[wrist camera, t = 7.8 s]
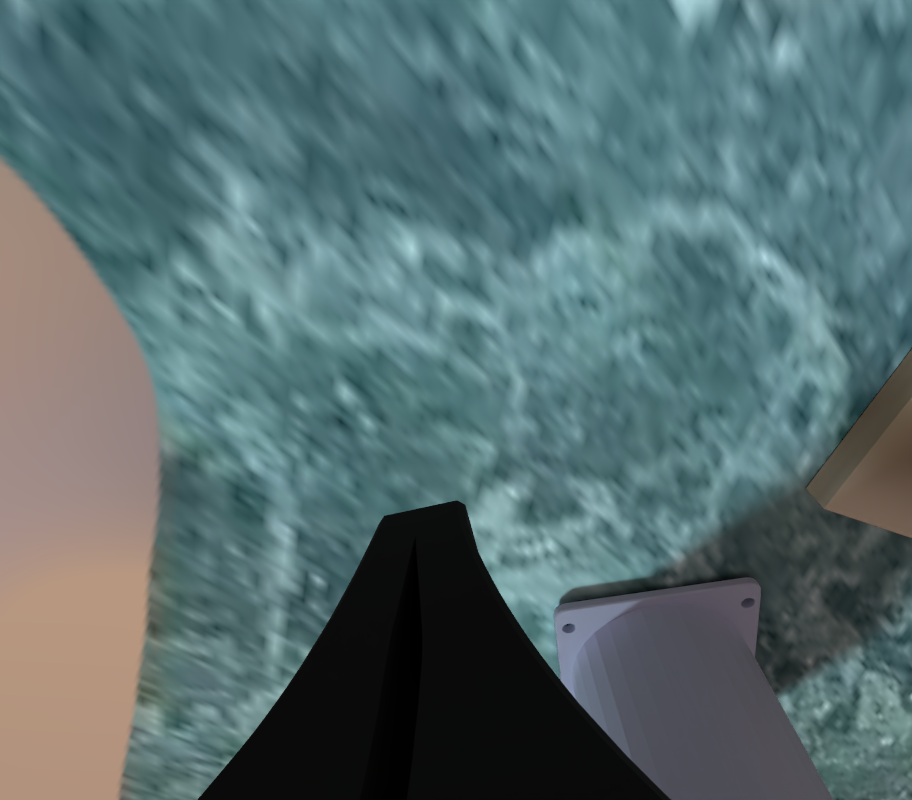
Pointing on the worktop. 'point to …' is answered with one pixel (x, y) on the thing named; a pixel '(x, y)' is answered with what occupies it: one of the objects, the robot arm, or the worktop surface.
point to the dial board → (874, 461)
